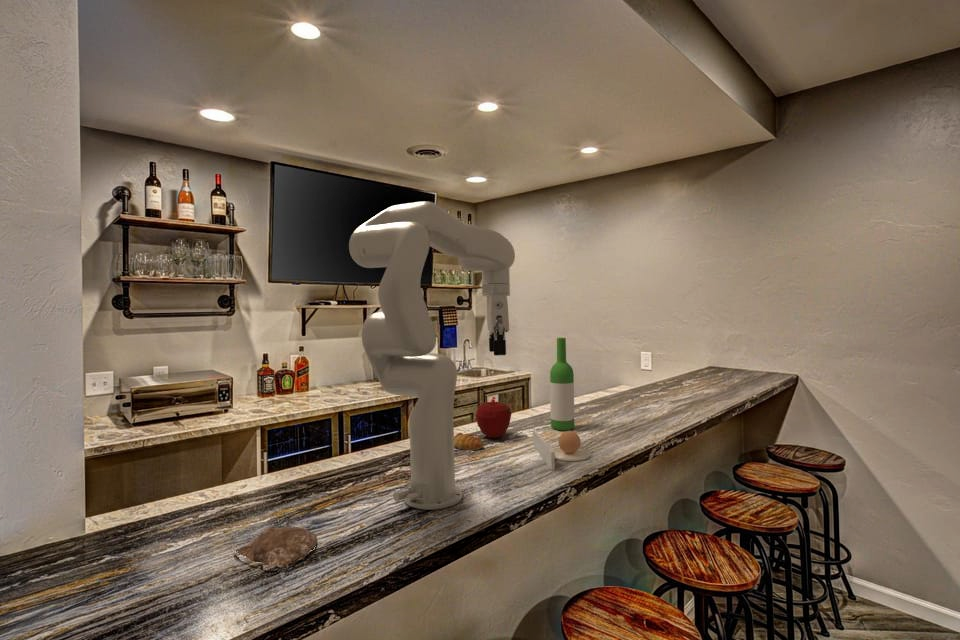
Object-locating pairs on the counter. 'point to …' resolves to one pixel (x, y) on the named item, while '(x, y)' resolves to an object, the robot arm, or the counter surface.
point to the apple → (493, 418)
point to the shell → (280, 546)
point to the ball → (569, 442)
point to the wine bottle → (562, 390)
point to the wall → (544, 450)
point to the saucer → (571, 455)
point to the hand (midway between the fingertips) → (497, 353)
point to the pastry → (467, 442)
